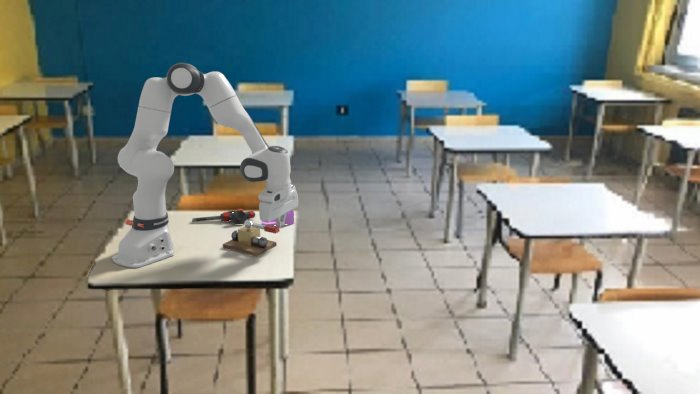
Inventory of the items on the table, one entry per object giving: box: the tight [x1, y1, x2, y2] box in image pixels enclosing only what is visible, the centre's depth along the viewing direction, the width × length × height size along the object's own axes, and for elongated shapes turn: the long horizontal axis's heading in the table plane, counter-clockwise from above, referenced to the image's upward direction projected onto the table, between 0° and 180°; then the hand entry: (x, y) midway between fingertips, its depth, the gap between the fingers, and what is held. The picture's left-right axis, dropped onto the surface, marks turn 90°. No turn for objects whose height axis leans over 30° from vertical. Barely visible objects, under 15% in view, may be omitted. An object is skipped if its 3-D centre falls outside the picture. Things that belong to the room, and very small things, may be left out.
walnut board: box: [222, 238, 277, 258], centre depth 229 cm, size 12×16×2 cm
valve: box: [191, 208, 256, 225], centre depth 256 cm, size 6×26×15 cm
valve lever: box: [244, 219, 280, 234], centre depth 223 cm, size 14×3×2 cm, turn 62°
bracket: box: [261, 209, 295, 226], centre depth 251 cm, size 13×6×7 cm, turn 110°
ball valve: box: [230, 225, 269, 248], centre depth 227 cm, size 6×15×7 cm, turn 60°
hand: (280, 225), depth 226 cm, fingers closed
